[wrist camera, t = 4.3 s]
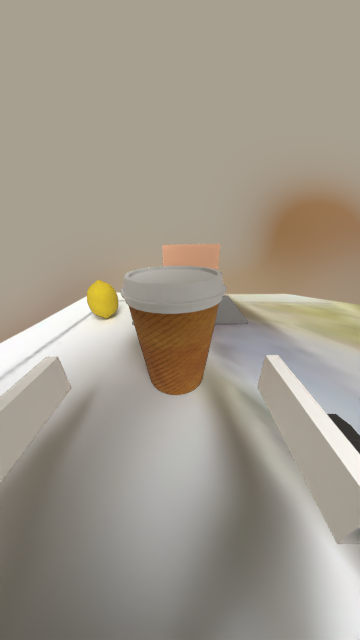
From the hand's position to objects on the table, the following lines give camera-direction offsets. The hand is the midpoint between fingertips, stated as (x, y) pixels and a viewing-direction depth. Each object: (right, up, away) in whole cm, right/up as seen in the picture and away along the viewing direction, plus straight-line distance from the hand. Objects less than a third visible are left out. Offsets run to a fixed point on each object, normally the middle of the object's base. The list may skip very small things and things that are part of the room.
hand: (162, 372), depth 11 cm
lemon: (-14, +4, +24) cm, 28 cm away
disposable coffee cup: (+1, -3, +9) cm, 10 cm away
